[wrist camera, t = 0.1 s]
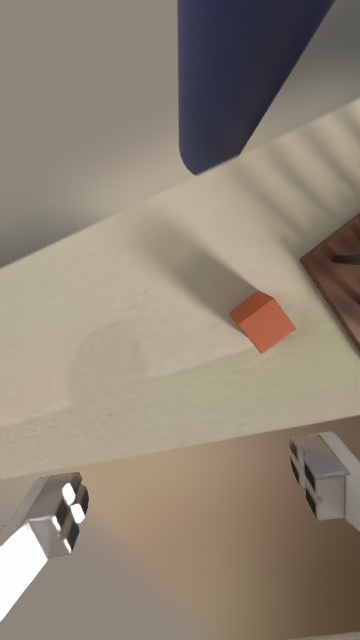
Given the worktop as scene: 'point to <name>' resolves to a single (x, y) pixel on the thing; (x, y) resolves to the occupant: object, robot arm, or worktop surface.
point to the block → (262, 321)
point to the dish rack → (339, 274)
